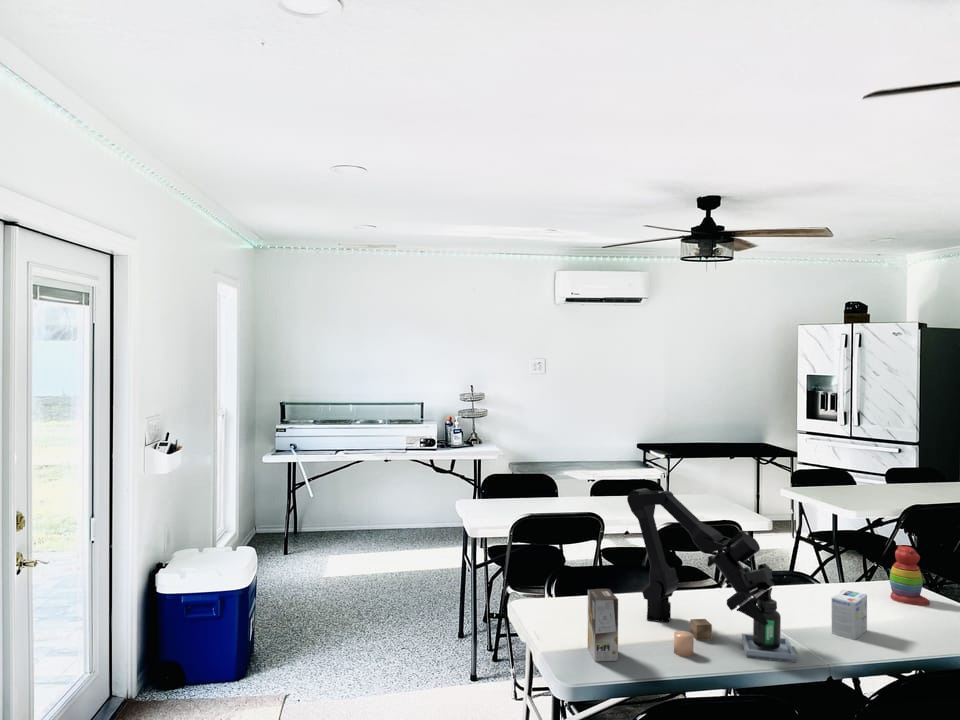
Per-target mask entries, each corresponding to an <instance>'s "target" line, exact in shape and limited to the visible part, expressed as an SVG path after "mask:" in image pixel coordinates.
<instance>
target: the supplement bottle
mask: <svg viewBox="0 0 960 720" xmlns="http://www.w3.org/2000/svg"><path fill="white" fill-rule="evenodd" d="M777 603H778V602H777V601H776V600H775V599H773V598H771V599H769V598H759V599H758V604H756V605H757V606H758V608H759V609H760V611H761V613H762V614H763V616H764V617H765V619H766V621H767V622H768V624H767V625H765V626H764V625H763V624H761V623H759V622H758V621H756V620H754V619H753V618H752V620H753V621H752V624H753V625H752V626H753V627H752V630H753V631H752V635H753V642H754V644H755V645H756V646H758V647H760V648H763V649H769V650H774V649H778V648H779V647H780V637H781V633H782V632H781V631H782V629H781V627H782V626H781V622H782V621H781V619H782V618H781V614H780V612H779V611H777V610H778V604H777Z"/></svg>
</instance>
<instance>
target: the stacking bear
mask: <svg viewBox="0 0 960 720" xmlns="http://www.w3.org/2000/svg"><path fill="white" fill-rule="evenodd" d="M894 556H895V557H894V558H895V560H896V561H895V562H894V563H893V564H892V566H891V569H890V573H889V584H890V590H891V593H890V597H889V598H890V599H892V600H893V601H895V602H897V603H903V604H907V605H913V606H930V604H931V601H930V600H929V599H928V598H926V597H925V596H923V595H921V593H922V589H923V583H924V582H923V576H922V572H921V569H920V566H918V563H919V562H920V559H921V556H920V555H919V554H918V552H917V551H916V550H915V549H914V548H913V547H911V546H908V545H907V546H906V545H905V546H903V545H902V544H898V545H897V549H896V550H895V553H894Z"/></svg>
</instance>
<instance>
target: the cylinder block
mask: <svg viewBox="0 0 960 720" xmlns="http://www.w3.org/2000/svg"><path fill="white" fill-rule="evenodd" d="M673 638H674V639H673V653H674V654H675V655H676V656H678V657H683V658H690V657H693V656H694V640H695V638H694V636H693V634H692V633H690V631H686V630H677V631H674V632H673Z"/></svg>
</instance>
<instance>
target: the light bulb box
mask: <svg viewBox="0 0 960 720" xmlns="http://www.w3.org/2000/svg"><path fill="white" fill-rule="evenodd" d="M867 631H868V594H866V593H862V592H857V591H853V590H852V591H851V590H847V589H842V590H841V591H840V592H839V593H837V594H836V595H834V596H832V597H831V634H832V635H835V636H838V637H842V638H846V639H850V640H854V641H855V640H857V639H858V638H859V637H861V636H862V635H864V633H865V632H867Z"/></svg>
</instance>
